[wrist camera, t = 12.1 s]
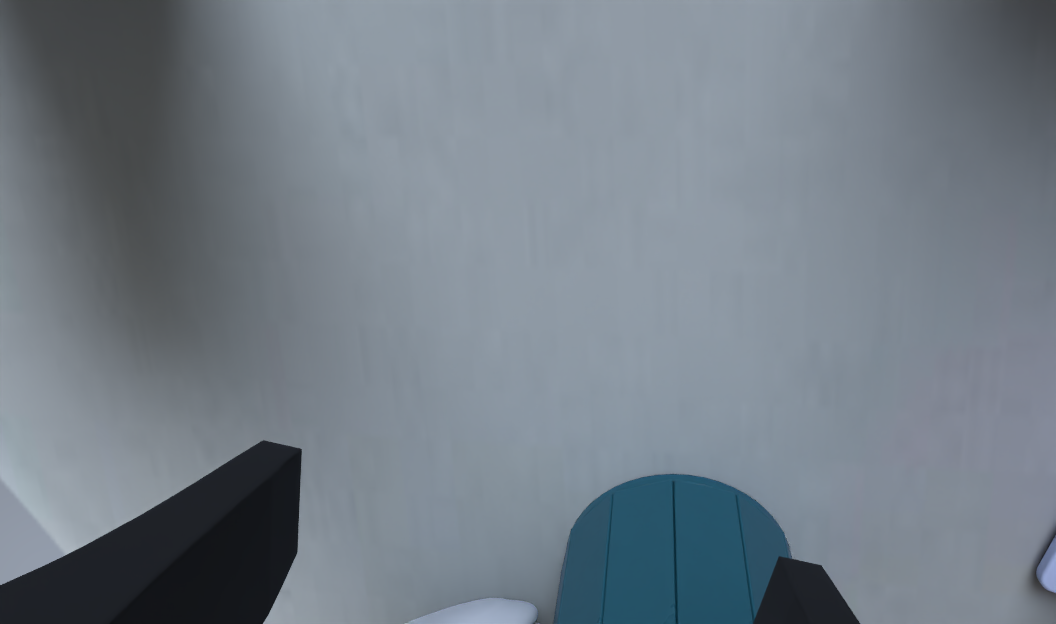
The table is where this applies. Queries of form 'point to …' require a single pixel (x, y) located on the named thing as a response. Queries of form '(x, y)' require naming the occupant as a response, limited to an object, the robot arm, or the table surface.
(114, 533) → the robot arm
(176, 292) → the table surface
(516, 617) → the headphones
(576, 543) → the pot
